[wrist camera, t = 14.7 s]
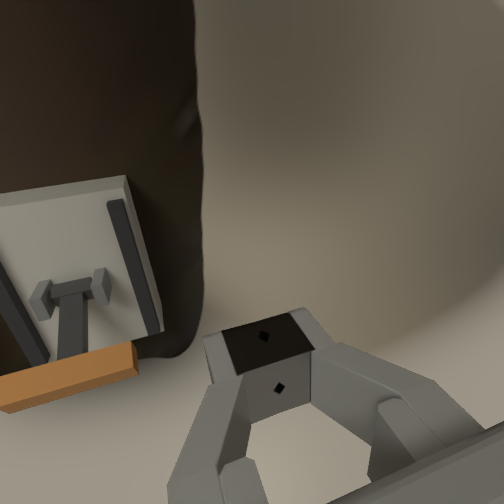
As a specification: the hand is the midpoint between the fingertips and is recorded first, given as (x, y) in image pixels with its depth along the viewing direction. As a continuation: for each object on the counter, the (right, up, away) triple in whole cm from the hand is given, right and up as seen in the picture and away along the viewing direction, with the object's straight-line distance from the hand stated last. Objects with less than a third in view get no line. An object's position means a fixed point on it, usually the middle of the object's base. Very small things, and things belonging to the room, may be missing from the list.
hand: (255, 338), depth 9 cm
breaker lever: (-18, -1, +22) cm, 28 cm away
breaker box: (-20, +2, +28) cm, 35 cm away
